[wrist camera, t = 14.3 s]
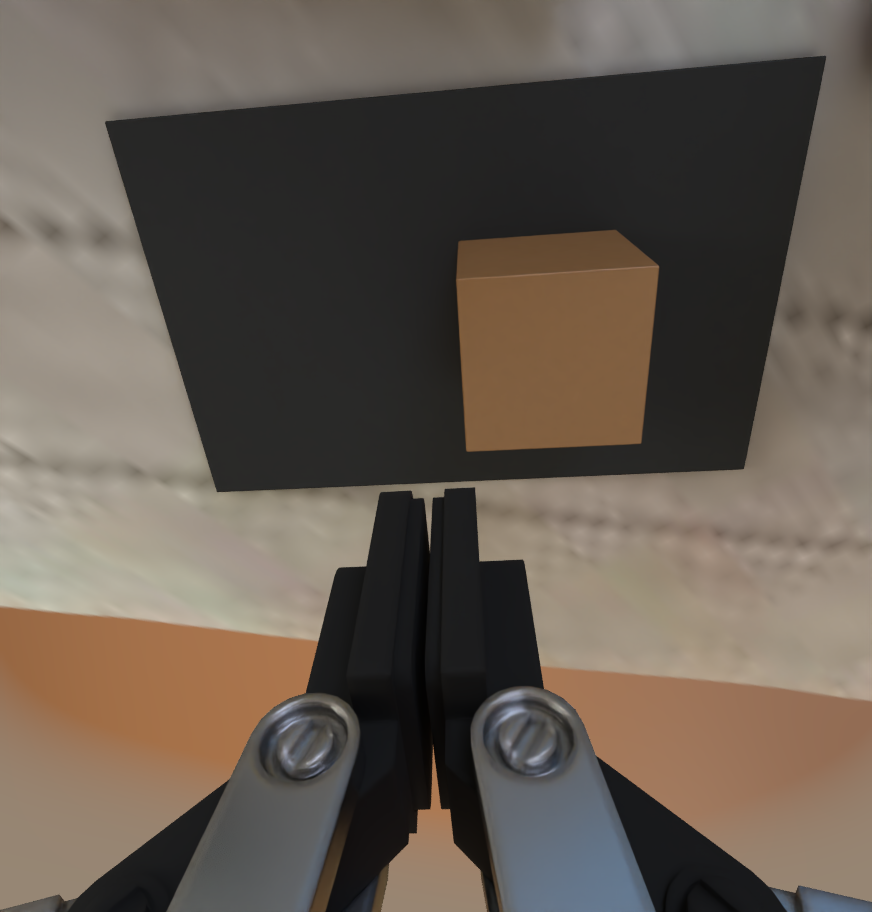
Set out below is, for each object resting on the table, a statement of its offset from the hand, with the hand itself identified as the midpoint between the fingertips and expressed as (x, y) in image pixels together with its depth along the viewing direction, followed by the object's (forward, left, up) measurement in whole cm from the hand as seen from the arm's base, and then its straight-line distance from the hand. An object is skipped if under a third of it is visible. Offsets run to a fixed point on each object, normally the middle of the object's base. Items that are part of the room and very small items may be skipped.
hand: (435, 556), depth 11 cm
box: (+3, -1, -10) cm, 11 cm away
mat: (0, -1, -17) cm, 17 cm away
